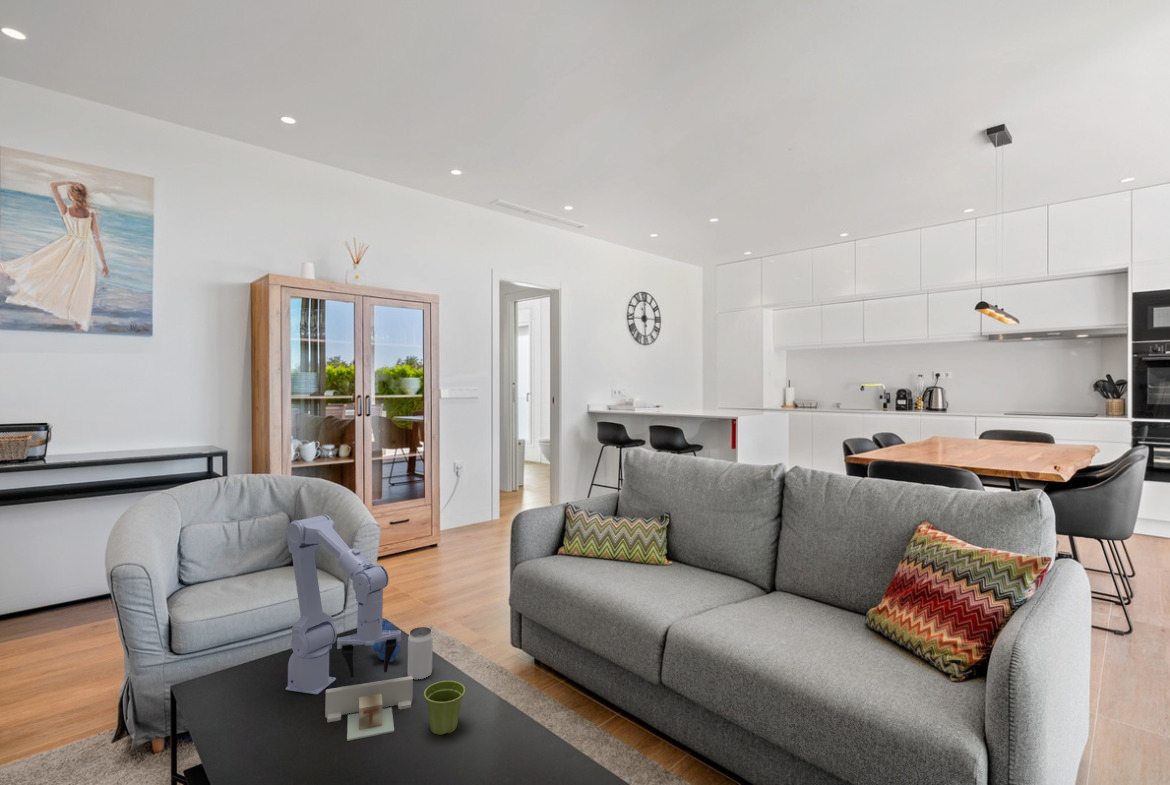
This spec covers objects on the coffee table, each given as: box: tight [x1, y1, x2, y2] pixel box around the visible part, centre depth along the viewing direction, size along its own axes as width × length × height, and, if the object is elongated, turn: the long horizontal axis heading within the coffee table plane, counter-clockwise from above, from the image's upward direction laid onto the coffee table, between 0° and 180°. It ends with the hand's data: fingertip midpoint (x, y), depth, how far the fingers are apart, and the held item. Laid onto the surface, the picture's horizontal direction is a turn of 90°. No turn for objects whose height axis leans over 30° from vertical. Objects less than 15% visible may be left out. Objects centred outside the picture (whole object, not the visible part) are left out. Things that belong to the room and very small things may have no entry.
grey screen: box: [324, 675, 414, 723], centre depth 144 cm, size 20×6×6 cm, turn 111°
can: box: [407, 626, 434, 681], centre depth 160 cm, size 6×6×12 cm
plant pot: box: [423, 680, 466, 736], centre depth 136 cm, size 9×9×9 cm
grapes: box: [370, 617, 401, 663], centre depth 167 cm, size 12×7×12 cm, turn 64°
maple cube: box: [358, 694, 383, 730], centre depth 137 cm, size 5×5×5 cm
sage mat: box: [346, 706, 395, 742], centre depth 137 cm, size 10×10×1 cm
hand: (368, 672), depth 143 cm, fingers open, 7 cm apart
